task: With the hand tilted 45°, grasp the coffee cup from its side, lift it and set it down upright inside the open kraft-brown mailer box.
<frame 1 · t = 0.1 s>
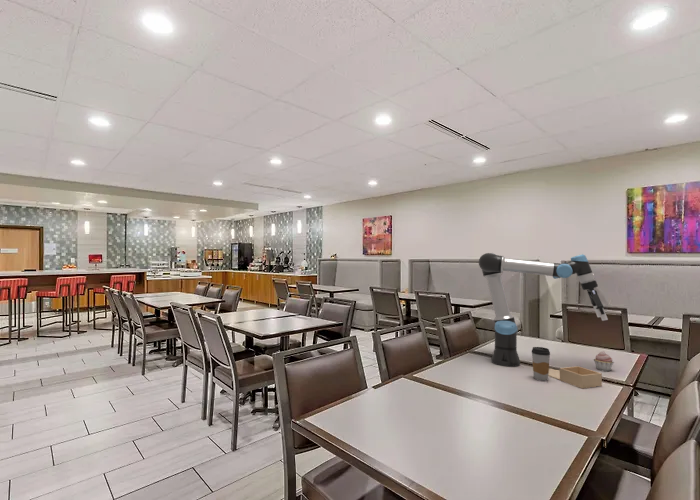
hand: (602, 318, 199), 28 cm above the table, tool tilted 20°, fingers open, 13 cm apart
cupcake: (603, 369, 198), on the table
coffee cup: (540, 379, 180), on the table
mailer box: (580, 383, 175), on the table
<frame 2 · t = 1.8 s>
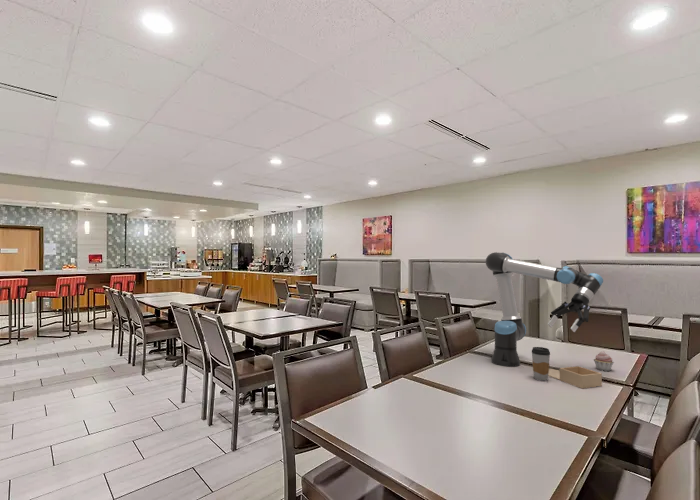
hand: (560, 327, 185), 25 cm above the table, tool tilted 45°, fingers open, 13 cm apart
nothing on the table moved.
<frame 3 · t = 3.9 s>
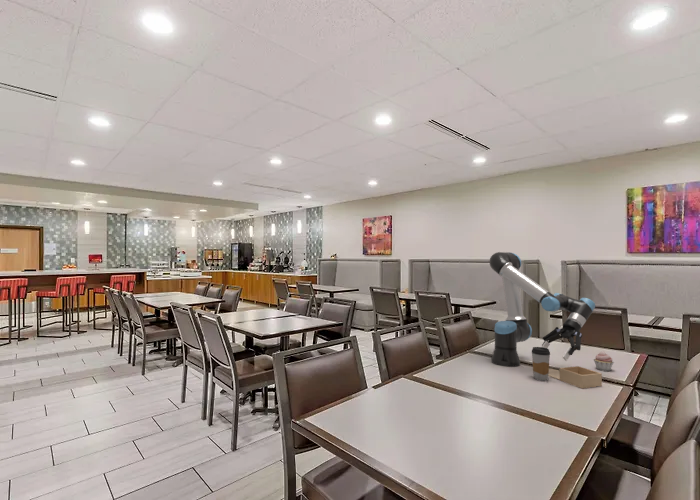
hand: (552, 355, 181), 12 cm above the table, tool tilted 45°, fingers open, 13 cm apart
nothing on the table moved.
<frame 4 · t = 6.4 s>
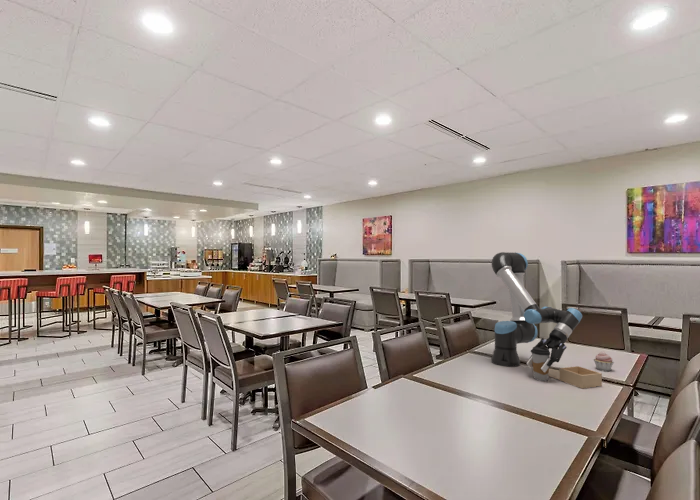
hand: (535, 367, 180), 6 cm above the table, tool tilted 45°, fingers closed on coffee cup, 8 cm apart
coffee cup: (540, 379, 180), on the table, touching gripper
everything else where it was.
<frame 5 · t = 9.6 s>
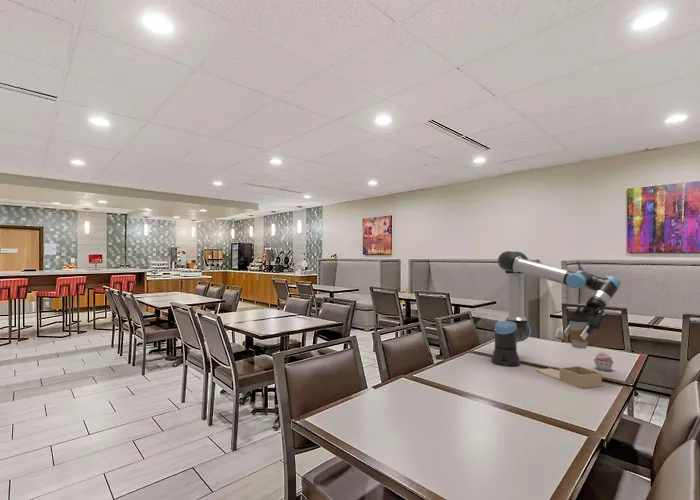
hand: (573, 335, 174), 23 cm above the table, tool tilted 45°, fingers closed on coffee cup, 8 cm apart
coffee cup: (579, 347, 175), point 17 cm above the table, touching gripper
everything else where it was.
when the fingers open (8 cm above the table, at t = 12.9 s): coffee cup drops 2 cm, resting on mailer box.
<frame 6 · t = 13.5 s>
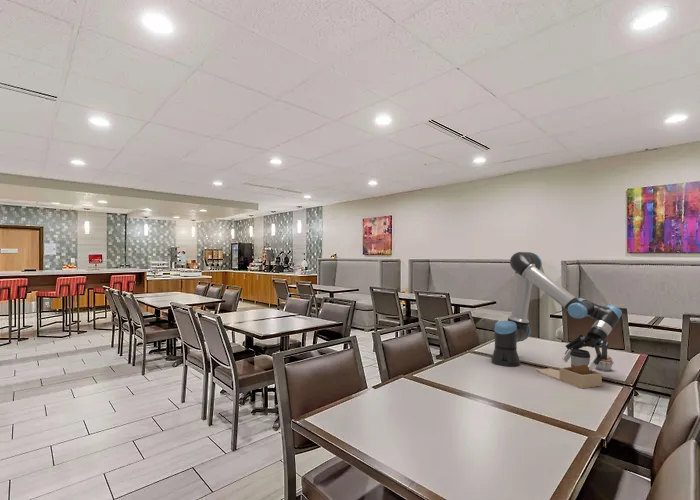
hand: (576, 364, 174), 9 cm above the table, tool tilted 45°, fingers open, 13 cm apart
coffee cup: (579, 382, 175), resting on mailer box
everything else where it was.
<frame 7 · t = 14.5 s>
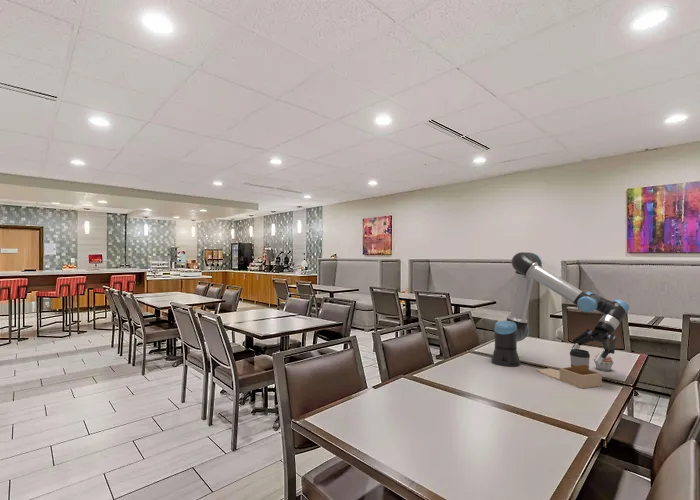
hand: (583, 358, 175), 12 cm above the table, tool tilted 45°, fingers open, 13 cm apart
nothing on the table moved.
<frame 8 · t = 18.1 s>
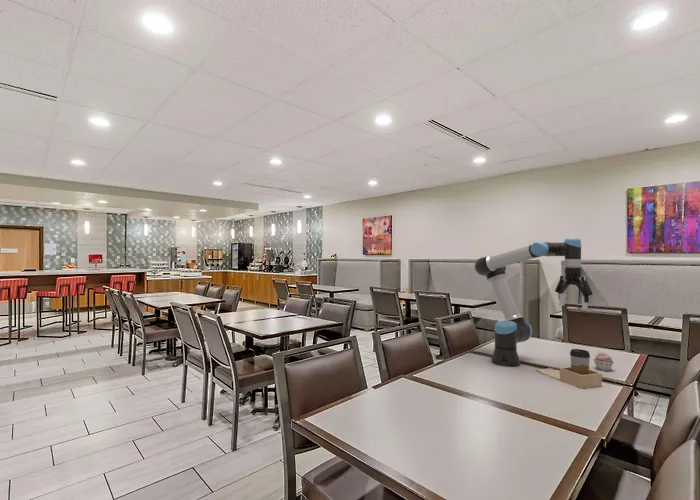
hand: (573, 307, 192), 35 cm above the table, tool pointing down, fingers open, 13 cm apart
nothing on the table moved.
at the end: coffee cup 0.3 cm off-centre on the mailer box, point 0.3 cm above the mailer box's base; coffee cup tilted 0°; the gripper is holding nothing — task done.
